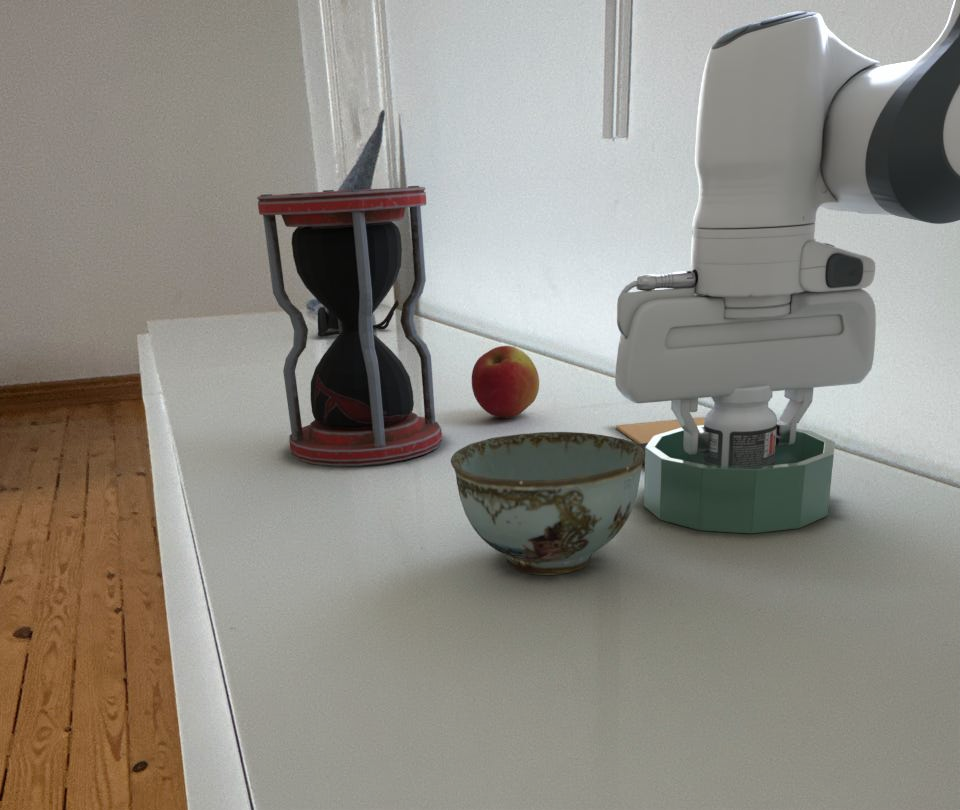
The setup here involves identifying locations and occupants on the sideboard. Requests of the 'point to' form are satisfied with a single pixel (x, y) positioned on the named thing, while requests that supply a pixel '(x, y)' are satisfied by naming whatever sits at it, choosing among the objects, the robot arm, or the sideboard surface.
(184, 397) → the sideboard surface
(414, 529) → the sideboard surface
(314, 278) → the hourglass
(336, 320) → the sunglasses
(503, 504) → the bowl
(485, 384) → the apple
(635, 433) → the cork coaster
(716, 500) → the green bowl
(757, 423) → the pill bottle
